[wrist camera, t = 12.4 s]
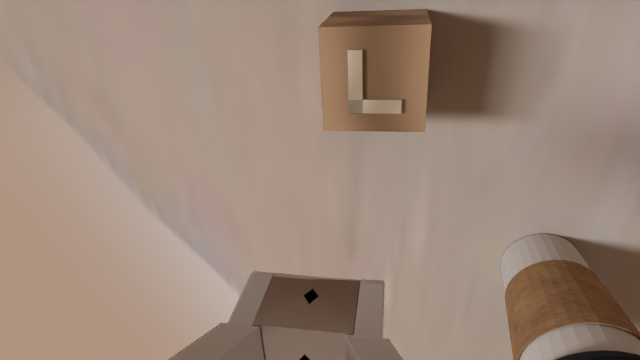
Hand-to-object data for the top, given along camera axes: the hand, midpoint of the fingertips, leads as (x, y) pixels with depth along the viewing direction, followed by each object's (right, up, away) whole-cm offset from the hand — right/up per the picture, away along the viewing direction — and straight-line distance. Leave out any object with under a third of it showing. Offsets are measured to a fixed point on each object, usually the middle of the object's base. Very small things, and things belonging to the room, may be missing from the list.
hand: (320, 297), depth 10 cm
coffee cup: (+18, -4, +26) cm, 31 cm away
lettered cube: (+4, +11, +20) cm, 23 cm away
